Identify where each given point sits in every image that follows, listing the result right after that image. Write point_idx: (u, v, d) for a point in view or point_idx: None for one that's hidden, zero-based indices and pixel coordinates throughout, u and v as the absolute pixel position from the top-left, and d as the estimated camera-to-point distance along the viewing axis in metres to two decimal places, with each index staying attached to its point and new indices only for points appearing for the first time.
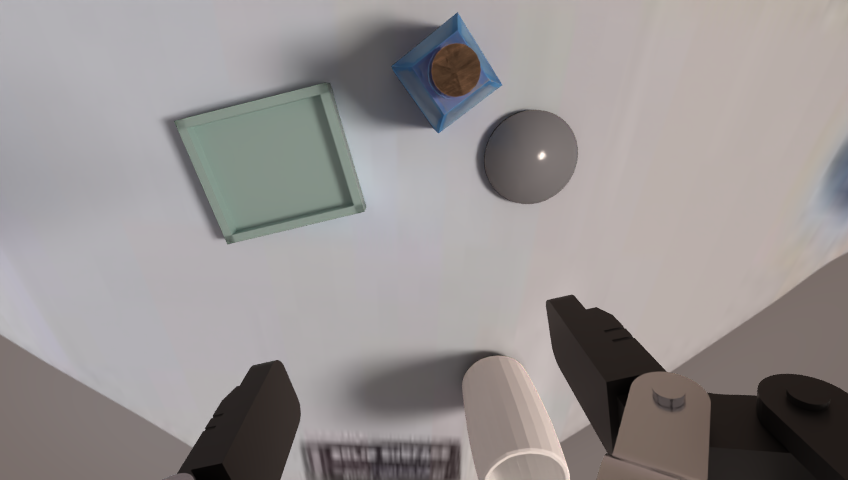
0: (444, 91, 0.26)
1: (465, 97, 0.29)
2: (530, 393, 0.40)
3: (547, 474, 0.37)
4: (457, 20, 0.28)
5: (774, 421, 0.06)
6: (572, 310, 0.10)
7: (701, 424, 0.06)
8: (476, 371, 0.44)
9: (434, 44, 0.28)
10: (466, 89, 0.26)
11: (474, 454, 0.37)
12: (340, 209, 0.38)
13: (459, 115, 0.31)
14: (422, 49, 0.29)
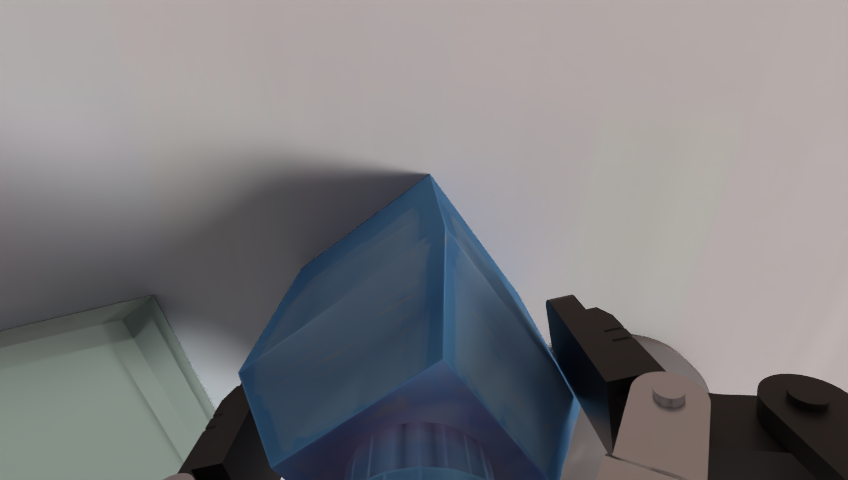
0: None
1: None
2: None
3: None
4: (444, 277, 0.08)
5: (774, 421, 0.06)
6: (572, 310, 0.10)
7: (701, 424, 0.06)
8: None
9: (356, 379, 0.08)
10: None
11: None
12: None
13: None
14: (320, 369, 0.08)
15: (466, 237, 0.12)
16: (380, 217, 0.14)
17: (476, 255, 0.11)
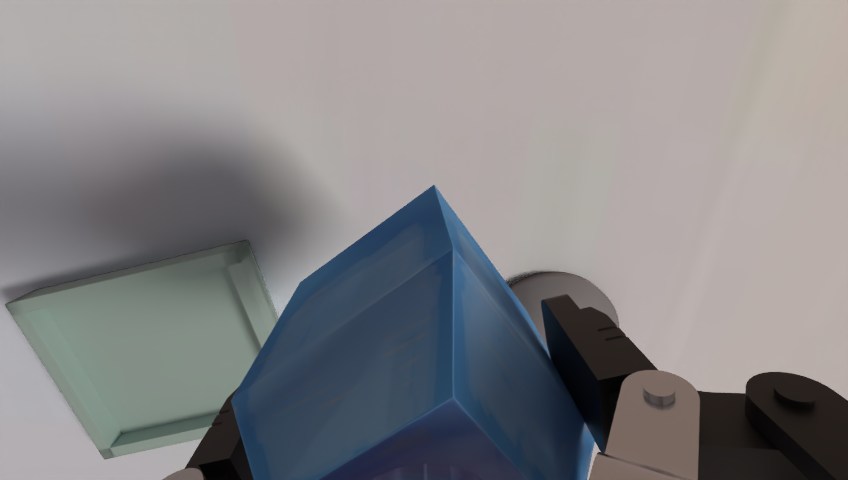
0: None
1: None
2: None
3: None
4: (452, 304, 0.07)
5: (762, 419, 0.06)
6: (566, 309, 0.10)
7: (690, 421, 0.06)
8: None
9: (357, 414, 0.07)
10: None
11: None
12: None
13: None
14: (318, 401, 0.08)
15: (473, 253, 0.11)
16: (382, 230, 0.13)
17: (484, 273, 0.10)
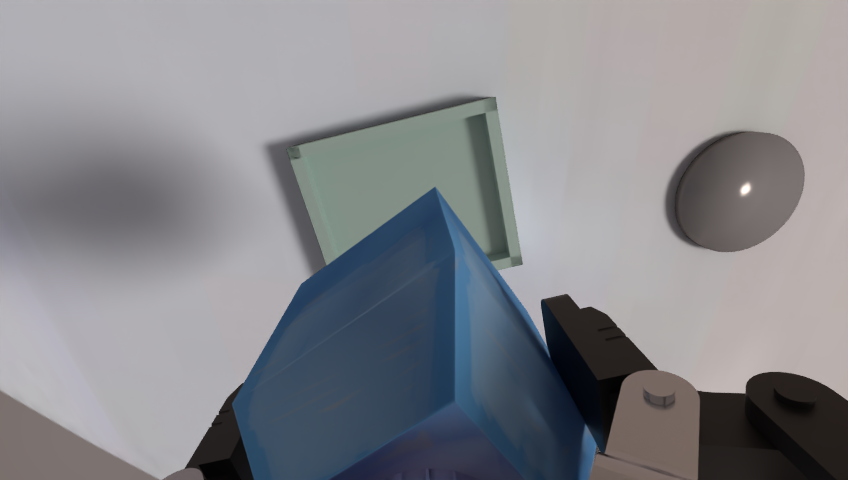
0: None
1: None
2: None
3: None
4: (454, 307, 0.07)
5: (762, 419, 0.06)
6: (566, 309, 0.10)
7: (690, 421, 0.06)
8: None
9: (359, 419, 0.07)
10: None
11: None
12: (491, 262, 0.29)
13: None
14: (319, 404, 0.08)
15: (475, 256, 0.11)
16: (383, 232, 0.13)
17: (486, 276, 0.10)
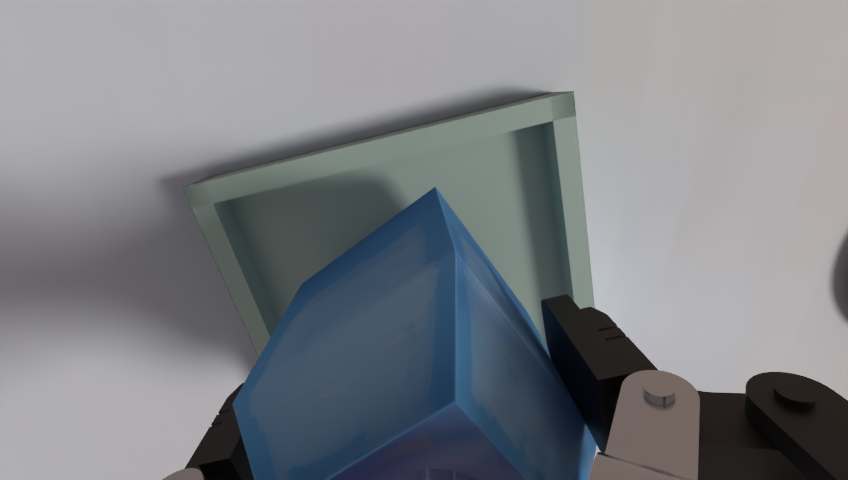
0: None
1: None
2: None
3: None
4: (455, 307, 0.07)
5: (763, 419, 0.06)
6: (566, 309, 0.10)
7: (690, 421, 0.06)
8: None
9: (359, 419, 0.07)
10: None
11: None
12: None
13: None
14: (319, 404, 0.08)
15: (475, 256, 0.11)
16: (384, 232, 0.13)
17: (486, 276, 0.10)
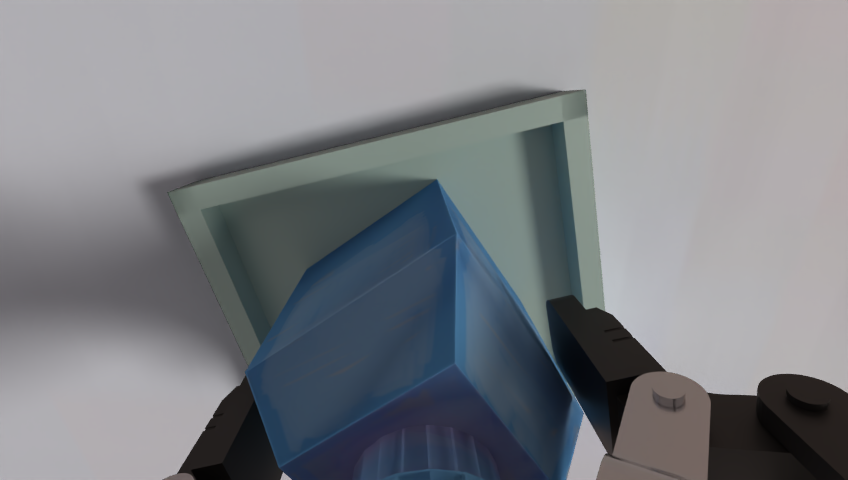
0: None
1: None
2: None
3: None
4: (455, 282, 0.08)
5: (774, 421, 0.06)
6: (572, 310, 0.10)
7: (701, 424, 0.06)
8: None
9: (366, 380, 0.08)
10: None
11: None
12: None
13: None
14: (329, 369, 0.08)
15: (473, 243, 0.12)
16: (387, 221, 0.14)
17: (483, 261, 0.11)
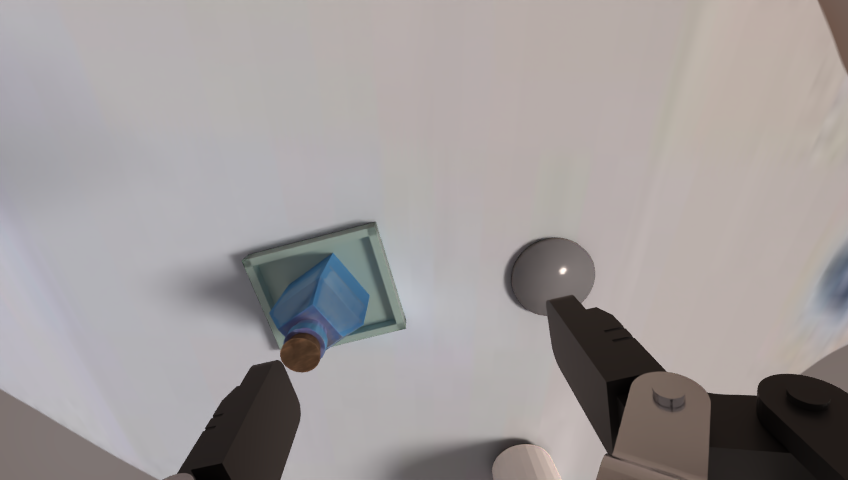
0: (292, 369, 0.32)
1: None
2: None
3: None
4: (317, 288, 0.35)
5: (774, 421, 0.06)
6: (572, 310, 0.10)
7: (701, 424, 0.06)
8: (506, 461, 0.48)
9: (296, 310, 0.34)
10: (310, 367, 0.32)
11: None
12: (384, 327, 0.43)
13: None
14: (289, 309, 0.35)
15: (336, 276, 0.39)
16: (314, 268, 0.41)
17: (336, 282, 0.38)
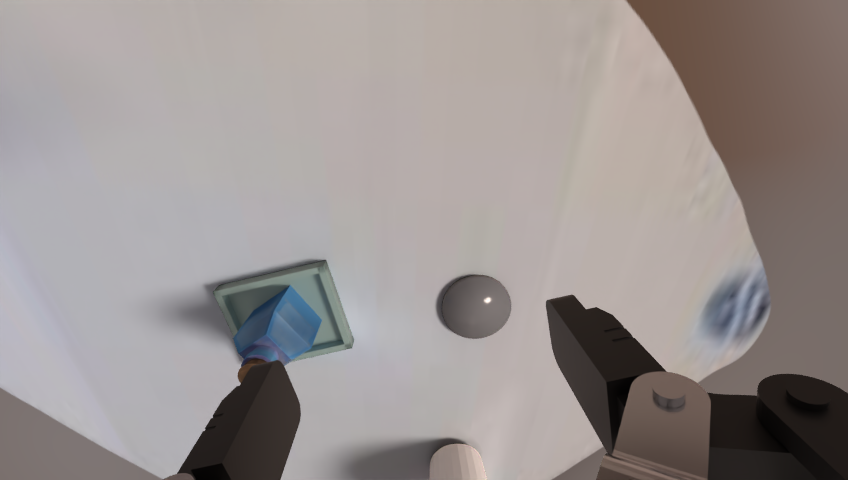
0: None
1: None
2: None
3: None
4: (271, 320, 0.43)
5: (774, 421, 0.06)
6: (572, 310, 0.10)
7: (701, 424, 0.06)
8: (439, 458, 0.57)
9: (254, 338, 0.43)
10: None
11: None
12: (333, 347, 0.51)
13: None
14: (248, 336, 0.43)
15: (290, 307, 0.47)
16: (274, 298, 0.49)
17: (290, 312, 0.46)
